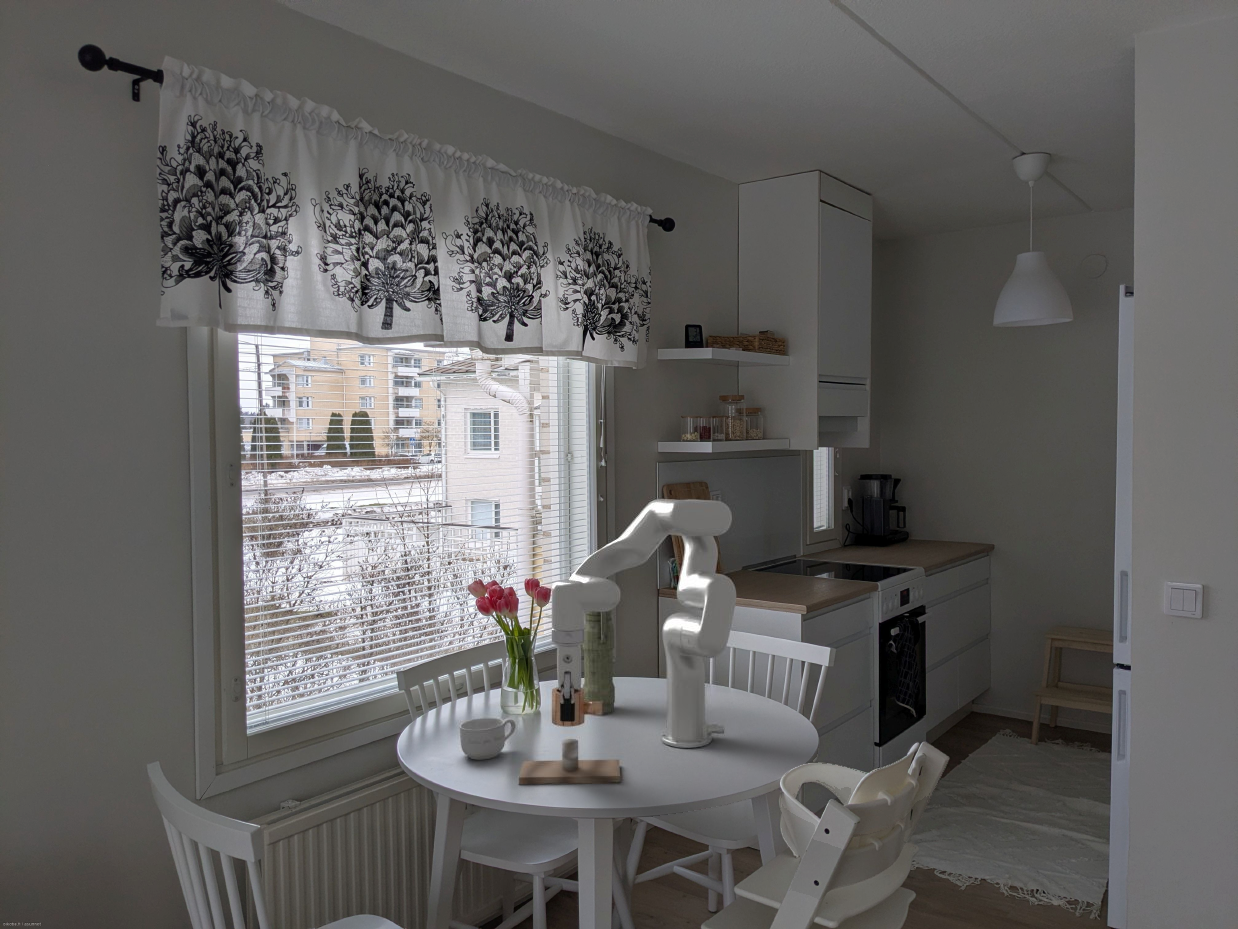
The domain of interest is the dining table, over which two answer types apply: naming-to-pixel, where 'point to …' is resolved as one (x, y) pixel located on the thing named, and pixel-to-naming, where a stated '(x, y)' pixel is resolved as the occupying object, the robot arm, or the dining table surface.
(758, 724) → the dining table surface
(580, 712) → the wooden stave mug
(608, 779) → the duct board
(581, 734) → the dining table surface
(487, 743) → the teacup
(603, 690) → the olive green tall cylinder
